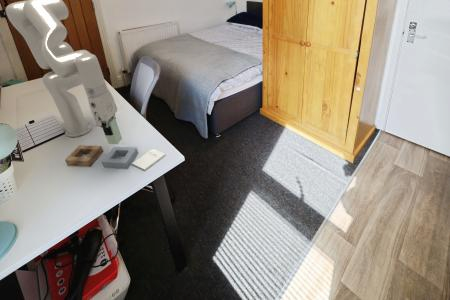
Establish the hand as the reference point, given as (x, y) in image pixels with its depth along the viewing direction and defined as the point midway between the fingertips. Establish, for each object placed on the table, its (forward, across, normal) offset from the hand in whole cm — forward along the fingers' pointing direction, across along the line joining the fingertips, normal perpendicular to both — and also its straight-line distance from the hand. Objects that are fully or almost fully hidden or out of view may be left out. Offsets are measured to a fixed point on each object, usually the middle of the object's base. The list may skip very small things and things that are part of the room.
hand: (111, 131), depth 113 cm
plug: (+5, 0, 0) cm, 5 cm away
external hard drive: (+16, +1, -12) cm, 20 cm away
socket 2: (+15, 0, +1) cm, 15 cm away
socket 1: (+15, 0, +18) cm, 23 cm away
